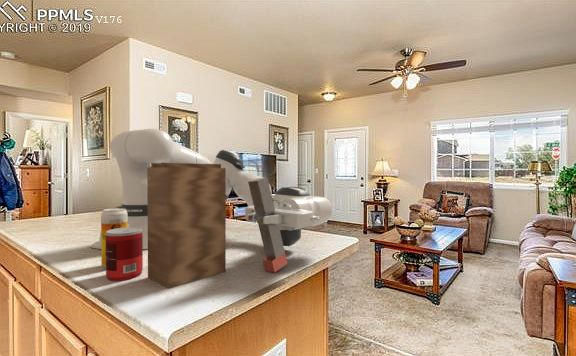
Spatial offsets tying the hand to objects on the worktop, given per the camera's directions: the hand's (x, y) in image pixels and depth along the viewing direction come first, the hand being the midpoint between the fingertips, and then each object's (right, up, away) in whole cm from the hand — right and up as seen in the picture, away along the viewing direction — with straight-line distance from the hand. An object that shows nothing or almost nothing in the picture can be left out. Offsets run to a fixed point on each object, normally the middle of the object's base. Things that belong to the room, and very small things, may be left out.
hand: (255, 219), depth 74 cm
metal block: (+4, -1, +4) cm, 6 cm away
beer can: (-38, -13, +7) cm, 41 cm away
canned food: (-32, -14, -1) cm, 34 cm away
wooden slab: (-17, -13, 0) cm, 21 cm away
